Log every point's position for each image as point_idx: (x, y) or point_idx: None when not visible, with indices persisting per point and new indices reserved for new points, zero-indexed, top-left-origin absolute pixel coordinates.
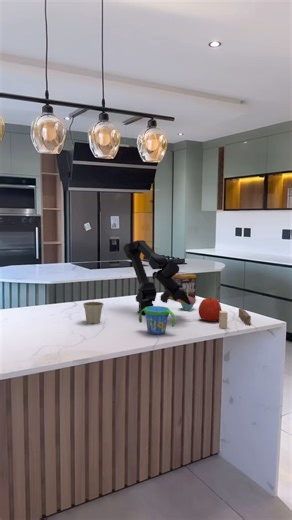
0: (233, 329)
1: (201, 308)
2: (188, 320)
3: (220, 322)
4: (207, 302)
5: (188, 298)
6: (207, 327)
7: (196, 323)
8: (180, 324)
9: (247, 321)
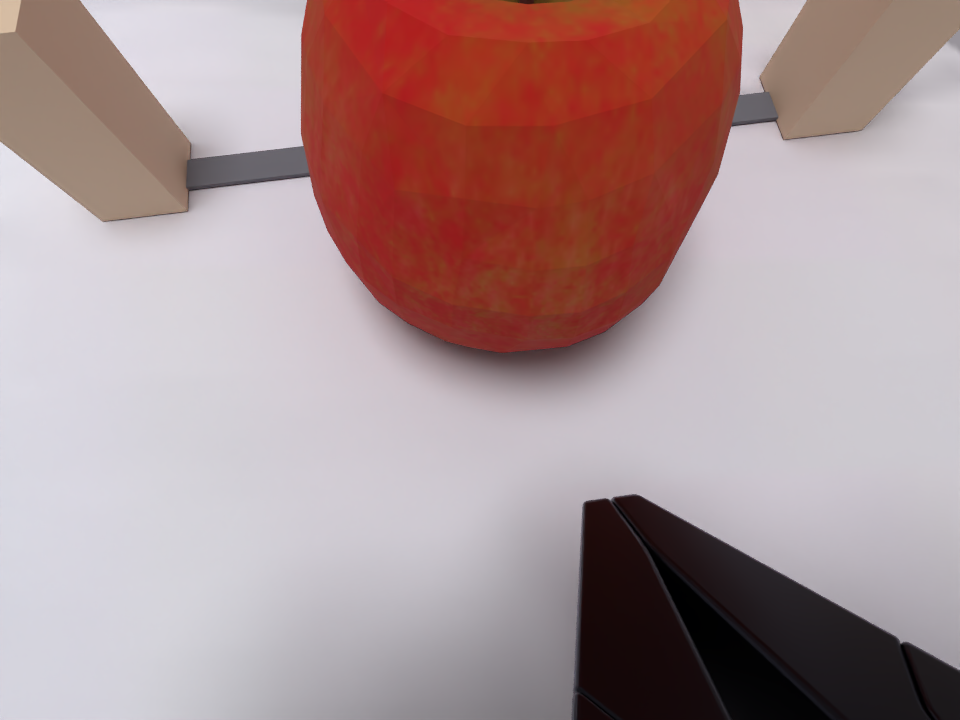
0: None
1: (667, 247)
2: None
3: (918, 70)
4: (726, 16)
5: (813, 594)
6: (884, 261)
7: (732, 405)
8: None
9: None
